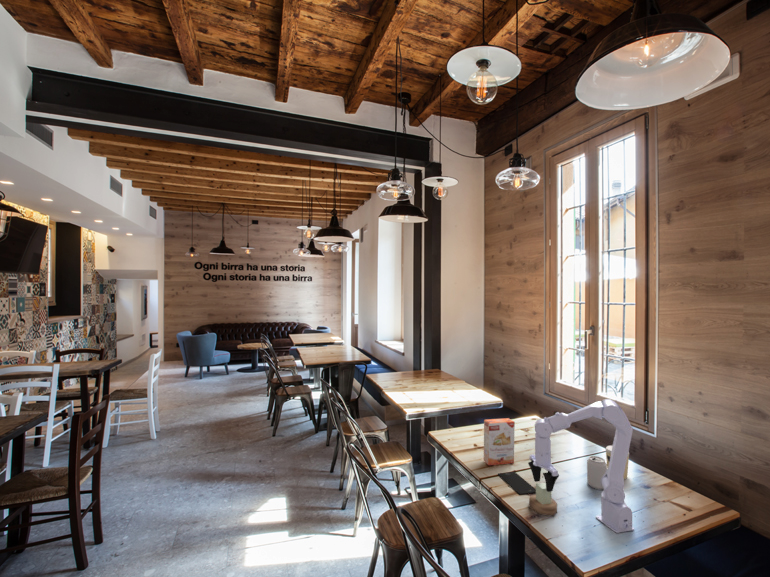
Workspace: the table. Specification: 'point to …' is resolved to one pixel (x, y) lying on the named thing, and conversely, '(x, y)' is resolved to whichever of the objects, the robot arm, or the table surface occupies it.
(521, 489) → the cell phone
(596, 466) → the can
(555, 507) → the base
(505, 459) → the cracker box
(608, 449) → the coffee cup
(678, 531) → the table surface
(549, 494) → the block
